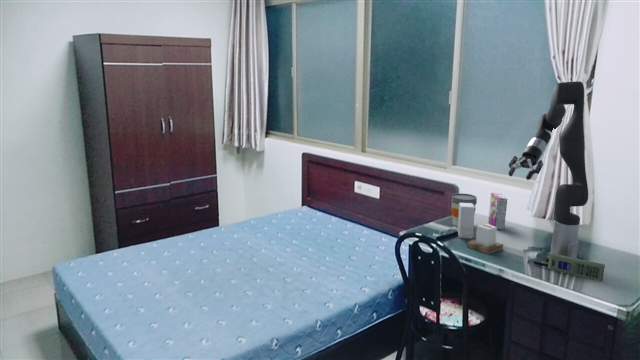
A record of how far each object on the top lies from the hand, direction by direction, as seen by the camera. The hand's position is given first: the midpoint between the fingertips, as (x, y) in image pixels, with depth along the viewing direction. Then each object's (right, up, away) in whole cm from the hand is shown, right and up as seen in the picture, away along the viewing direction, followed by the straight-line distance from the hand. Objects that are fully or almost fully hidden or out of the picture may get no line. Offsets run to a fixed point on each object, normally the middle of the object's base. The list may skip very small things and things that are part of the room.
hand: (518, 177), depth 219 cm
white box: (-16, -30, -2) cm, 34 cm away
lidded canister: (-17, -25, +29) cm, 42 cm away
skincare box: (-21, -28, +13) cm, 37 cm away
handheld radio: (+8, -39, -27) cm, 48 cm away
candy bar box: (0, -25, +27) cm, 37 cm away
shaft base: (-16, -32, -2) cm, 36 cm away
